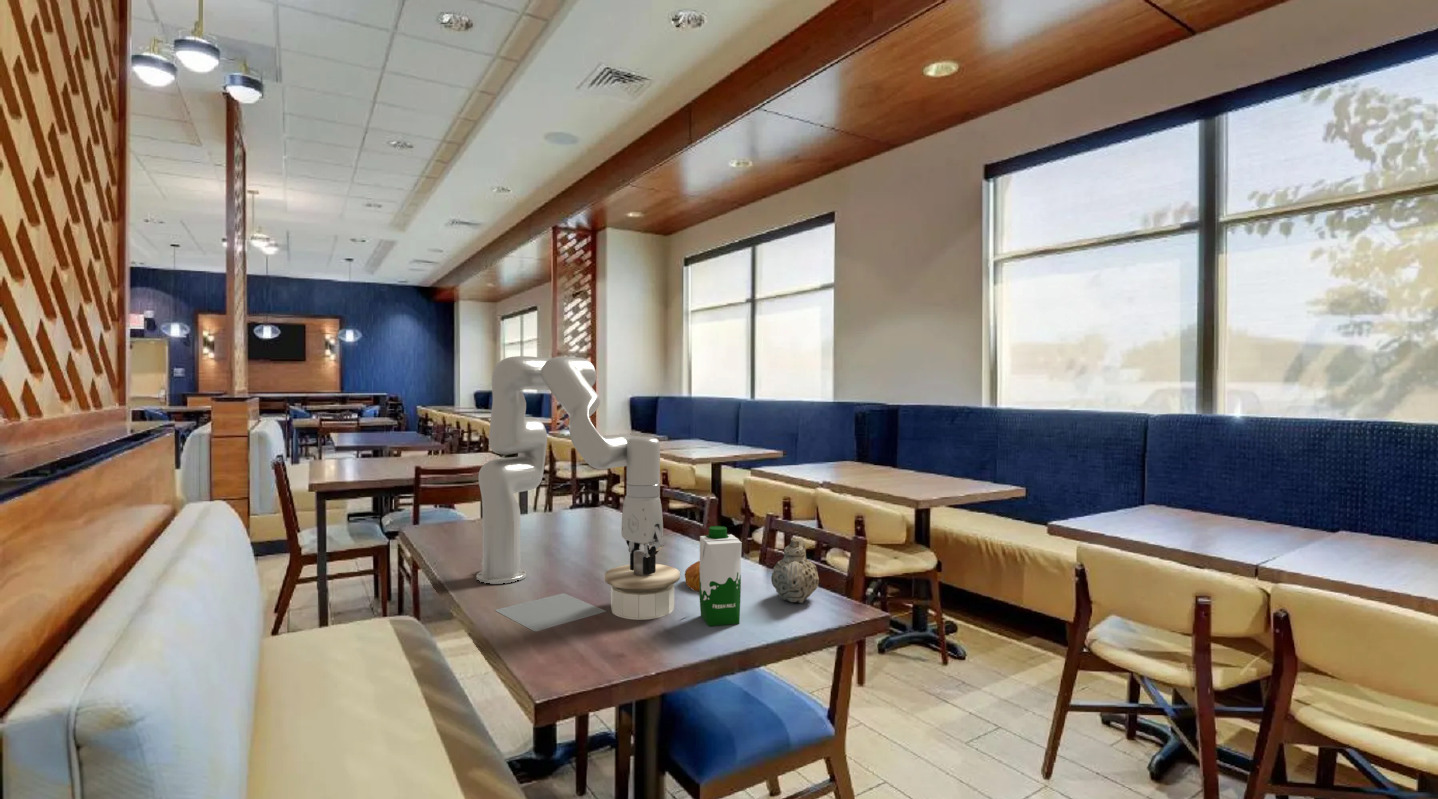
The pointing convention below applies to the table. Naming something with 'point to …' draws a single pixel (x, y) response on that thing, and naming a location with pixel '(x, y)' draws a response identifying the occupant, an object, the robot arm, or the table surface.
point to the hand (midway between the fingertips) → (642, 570)
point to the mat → (549, 611)
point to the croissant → (693, 576)
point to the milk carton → (720, 577)
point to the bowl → (642, 602)
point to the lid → (641, 575)
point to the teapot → (795, 573)
